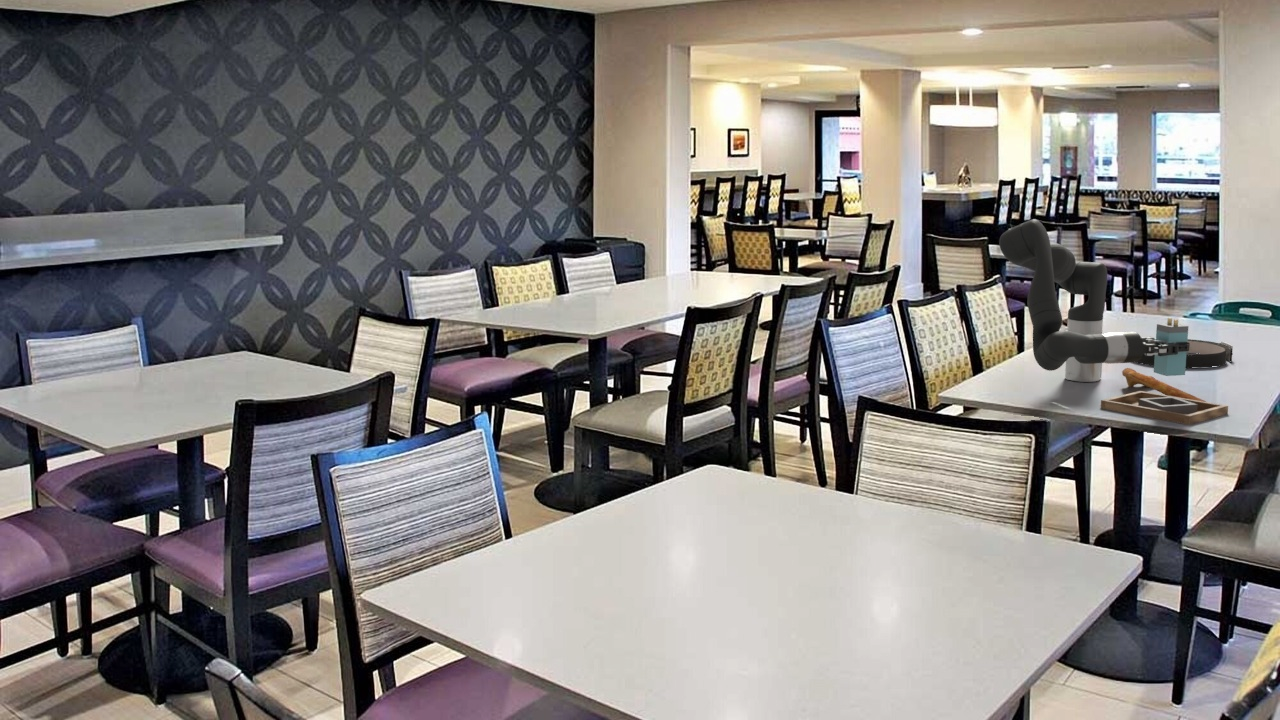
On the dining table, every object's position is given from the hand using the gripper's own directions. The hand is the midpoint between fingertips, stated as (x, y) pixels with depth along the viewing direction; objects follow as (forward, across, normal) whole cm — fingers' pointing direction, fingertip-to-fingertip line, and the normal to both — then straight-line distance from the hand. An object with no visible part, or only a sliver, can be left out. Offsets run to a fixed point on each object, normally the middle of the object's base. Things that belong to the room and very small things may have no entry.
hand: (1180, 344), depth 279 cm
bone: (+7, +17, +18) cm, 25 cm away
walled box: (-3, +1, +17) cm, 17 cm away
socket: (-2, 0, +17) cm, 17 cm away
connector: (-3, 0, +7) cm, 8 cm away
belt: (+45, +63, +17) cm, 79 cm away
